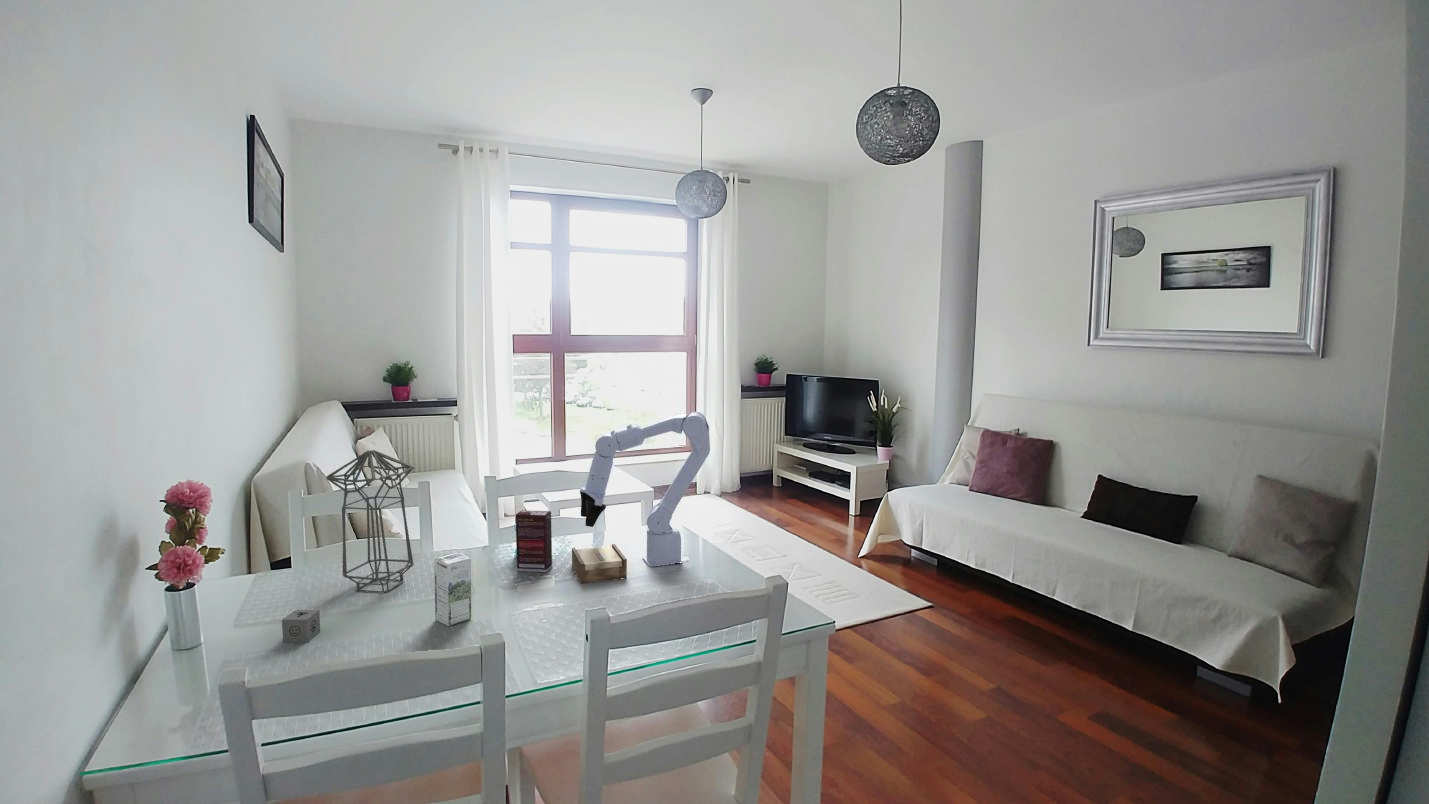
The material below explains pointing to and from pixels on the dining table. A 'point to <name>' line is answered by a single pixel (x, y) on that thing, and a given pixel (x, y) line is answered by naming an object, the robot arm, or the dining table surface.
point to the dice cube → (301, 626)
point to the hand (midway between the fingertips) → (586, 521)
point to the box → (598, 573)
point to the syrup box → (452, 589)
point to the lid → (599, 558)
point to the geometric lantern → (356, 467)
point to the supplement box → (534, 541)
